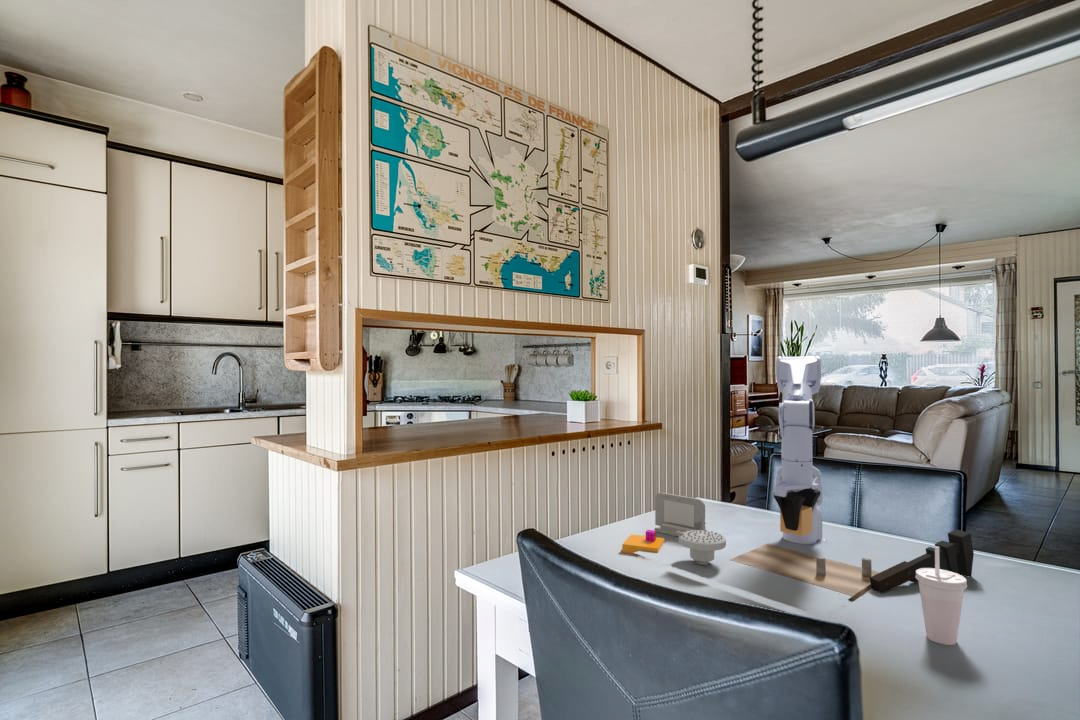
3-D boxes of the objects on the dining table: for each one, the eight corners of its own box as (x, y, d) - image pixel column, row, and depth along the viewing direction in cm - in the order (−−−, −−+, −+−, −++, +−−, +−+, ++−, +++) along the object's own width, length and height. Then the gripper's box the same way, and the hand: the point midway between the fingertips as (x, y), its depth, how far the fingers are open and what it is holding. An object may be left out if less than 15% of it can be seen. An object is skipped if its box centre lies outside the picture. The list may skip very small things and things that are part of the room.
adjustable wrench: (874, 613, 104) (962, 569, 112) (887, 619, 101) (976, 573, 109) (866, 570, 103) (956, 529, 112) (880, 575, 101) (970, 533, 109)
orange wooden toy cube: (790, 527, 115) (790, 503, 115) (812, 532, 112) (812, 507, 112) (780, 531, 112) (780, 506, 112) (802, 536, 109) (801, 510, 109)
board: (767, 548, 126) (767, 529, 126) (885, 578, 108) (885, 557, 108) (729, 564, 116) (729, 544, 116) (852, 601, 97) (852, 577, 97)
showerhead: (674, 524, 120) (722, 526, 118) (675, 557, 120) (723, 560, 118) (676, 537, 111) (728, 540, 109) (676, 573, 111) (729, 577, 109)
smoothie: (905, 629, 87) (905, 540, 87) (943, 628, 88) (943, 539, 88) (938, 650, 81) (937, 554, 81) (979, 648, 81) (978, 553, 81)
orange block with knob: (658, 558, 121) (658, 539, 121) (622, 554, 124) (622, 534, 124) (664, 547, 128) (664, 529, 128) (630, 543, 131) (630, 525, 131)
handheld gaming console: (720, 534, 137) (719, 494, 137) (703, 543, 130) (702, 500, 130) (672, 524, 146) (672, 486, 146) (654, 532, 139) (653, 492, 139)
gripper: (799, 466, 104) (800, 538, 104) (833, 458, 113) (833, 524, 113) (764, 461, 110) (764, 530, 109) (798, 454, 119) (799, 517, 119)
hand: (797, 527), depth 112 cm, fingers closed on orange wooden toy cube, 4 cm apart
